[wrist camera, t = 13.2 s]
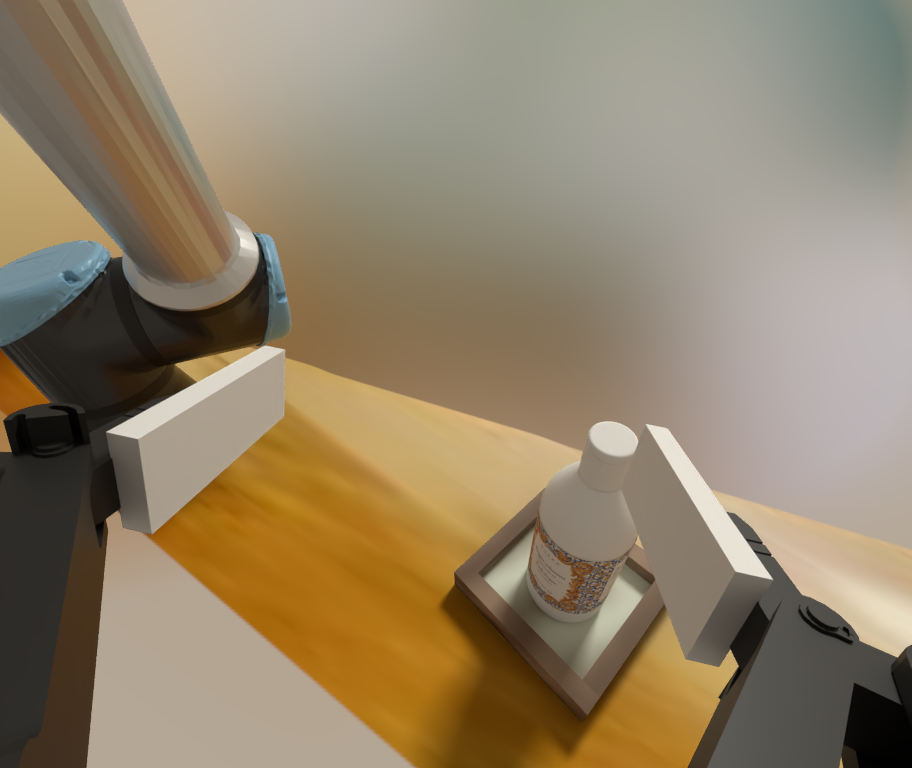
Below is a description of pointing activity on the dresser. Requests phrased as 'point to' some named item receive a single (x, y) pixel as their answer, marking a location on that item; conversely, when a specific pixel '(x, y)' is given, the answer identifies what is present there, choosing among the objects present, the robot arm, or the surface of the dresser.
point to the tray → (552, 641)
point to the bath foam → (583, 528)
